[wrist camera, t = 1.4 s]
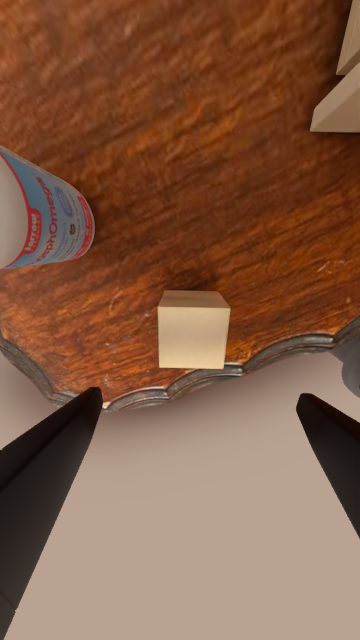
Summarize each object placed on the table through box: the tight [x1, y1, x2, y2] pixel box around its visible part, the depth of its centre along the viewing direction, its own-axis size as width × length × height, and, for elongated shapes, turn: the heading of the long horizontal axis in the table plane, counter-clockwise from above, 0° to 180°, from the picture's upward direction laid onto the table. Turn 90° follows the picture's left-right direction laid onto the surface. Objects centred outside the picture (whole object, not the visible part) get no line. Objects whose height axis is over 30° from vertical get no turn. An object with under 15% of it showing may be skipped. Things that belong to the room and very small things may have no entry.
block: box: [158, 290, 231, 369], centre depth 16 cm, size 5×5×5 cm
